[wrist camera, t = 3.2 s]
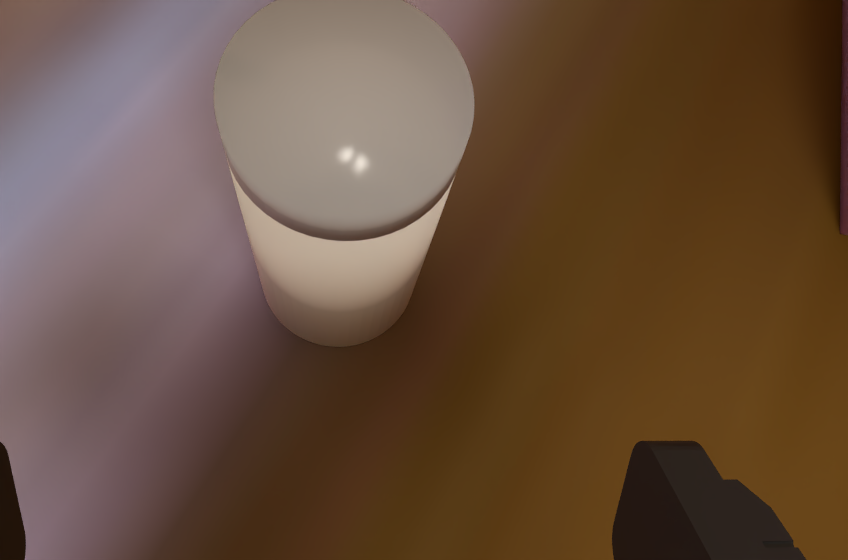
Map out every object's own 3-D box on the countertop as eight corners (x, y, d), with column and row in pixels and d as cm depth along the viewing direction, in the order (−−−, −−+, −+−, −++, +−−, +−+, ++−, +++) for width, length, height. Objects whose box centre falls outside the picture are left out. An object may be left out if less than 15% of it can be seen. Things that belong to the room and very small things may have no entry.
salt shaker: (413, 204, 24) (470, -6, 14) (415, 347, 23) (478, 220, 13) (265, 199, 23) (221, -23, 14) (256, 345, 22) (203, 211, 13)
